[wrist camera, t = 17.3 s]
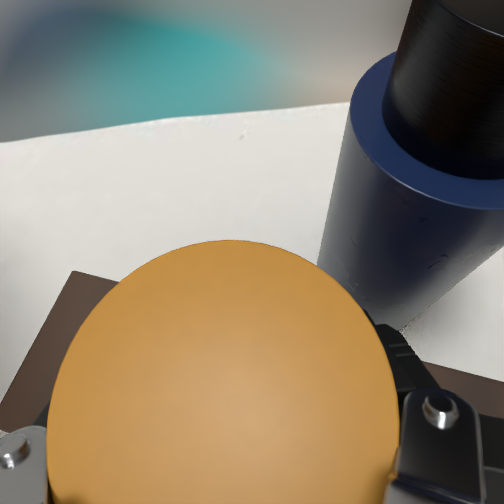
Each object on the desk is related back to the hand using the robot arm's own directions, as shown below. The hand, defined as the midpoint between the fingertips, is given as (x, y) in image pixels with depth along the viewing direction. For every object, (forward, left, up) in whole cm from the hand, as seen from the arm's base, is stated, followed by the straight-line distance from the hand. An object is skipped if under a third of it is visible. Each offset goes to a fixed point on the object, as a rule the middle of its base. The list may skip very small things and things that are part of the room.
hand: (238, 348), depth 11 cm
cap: (+1, -1, -4) cm, 4 cm away
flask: (+1, +9, -11) cm, 14 cm away
